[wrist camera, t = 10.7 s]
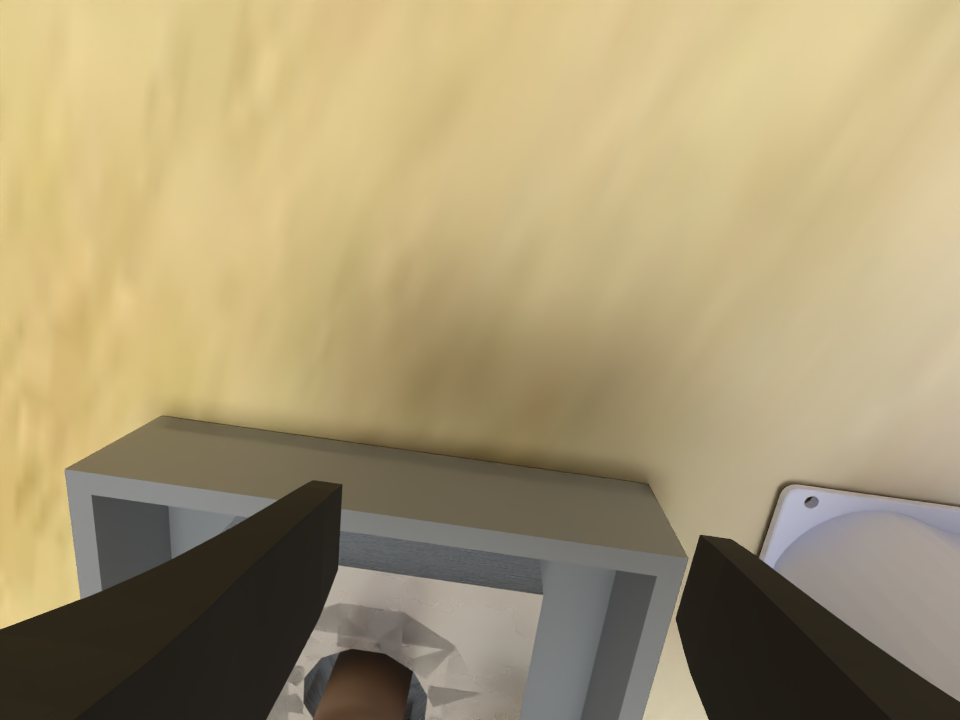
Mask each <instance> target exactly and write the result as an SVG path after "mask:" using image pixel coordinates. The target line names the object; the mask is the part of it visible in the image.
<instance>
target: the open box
mask: <svg viewBox="0 0 960 720" xmlns="http://www.w3.org/2000/svg"><path fill="white" fill-rule="evenodd" d="M65 477H66V485H67V493H68V501H69V509H70V517H71V525H72V533H73V541H74V549H75V557H76V565H77V573H78V581H79V589H80V597H81V599H83V598H86V597H88V596H91V595H93V594H96V593H98V592H100V591H103V590H105V589H107V588H110V587H112V586H114V585H117V584H119V583H121V582H123V581H126V580H128V579H130V578H133V577H135V576H137V575H139V574H142V573H144V572H146V571H148V570H150V569H152V568H154V567H157V566H159V565H161V564H163V563H165V562H167V561H169V560H171V559H173V558H175V557H177V556H179V555H181V554H183V553H185V552H186V551H188V550H190V549H192V548H194V547H196V546H198V545H200V544H202V543H203V542H205V541H207V540H209V539H211V538H213V537H215V536H217V535H219V534H220V533H221V532H222V531H223V530H224V529H225V528H226V527H227V526H228V525H229V524H230V523H231V522H232V520H233V519H234V518H235V517H236V516H243V517H250V516H252V515H254V514H255V513H257V512H259V511H261V510H262V509H264V508H266V507H267V506H269V505H271V504H272V503H274V502H276V501H277V500H279V499H281V498H282V497H284V496H286V495H287V494H289V493H291V492H292V491H294V490H296V489H298V488H299V487H301V486H303V485H304V484H306V483H308V482H310V481H312V480H317V481H324V482H331V483H338V484H343V486H342V505H341V525H340V531H347V532H354V533H361V534H368V535H375V536H382V537H389V538H396V539H403V540H410V541H417V542H423V543H430V544H437V545H444V546H451V547H458V548H465V549H472V550H479V551H486V552H493V553H500V554H507V555H514V556H521V557H528V558H535V559H540V563H541V574H542V585H543V600H542V606H541V611H540V616H539V621H538V626H537V631H536V636H535V641H534V647H533V652H532V657H531V662H530V667H529V672H528V677H527V683H526V688H525V693H524V698H523V703H522V708H521V713H520V718H519V720H642V718H643V715H644V711H645V708H646V704H647V701H648V697H649V694H650V690H651V687H652V683H653V680H654V676H655V673H656V669H657V666H658V663H659V659H660V656H661V652H662V649H663V645H664V642H665V638H666V635H667V631H668V628H669V624H670V621H671V617H672V614H673V610H674V607H675V603H676V600H677V596H678V593H679V590H680V586H681V583H682V579H683V576H684V572H685V569H686V565H687V562H688V557H687V555H686V553H685V551H684V549H683V547H682V546H681V544H680V542H679V540H678V538H677V536H676V534H675V533H674V531H673V529H672V527H671V525H670V523H669V521H668V520H667V518H666V516H665V514H664V512H663V510H662V508H661V507H660V505H659V503H658V501H657V499H656V497H655V495H654V494H653V492H652V490H651V488H650V486H649V484H644V483H637V482H630V481H623V480H616V479H609V478H601V477H594V476H587V475H580V474H573V473H566V472H559V471H551V470H544V469H537V468H530V467H523V466H516V465H508V464H501V463H494V462H487V461H480V460H473V459H466V458H458V457H451V456H444V455H437V454H430V453H423V452H416V451H408V450H401V449H394V448H387V447H380V446H373V445H366V444H358V443H351V442H344V441H337V440H330V439H323V438H316V437H308V436H301V435H294V434H287V433H280V432H273V431H266V430H258V429H251V428H244V427H237V426H230V425H223V424H216V423H208V422H201V421H194V420H187V419H180V418H173V417H166V416H160V417H158V418H156V419H155V420H153V421H151V422H149V423H147V424H146V425H144V426H142V427H140V428H138V429H137V430H135V431H133V432H131V433H129V434H128V435H126V436H124V437H122V438H120V439H119V440H117V441H115V442H113V443H111V444H109V445H108V446H106V447H104V448H102V449H100V450H99V451H97V452H95V453H93V454H91V455H90V456H88V457H86V458H84V459H82V460H81V461H79V462H77V463H75V464H73V465H71V466H70V467H68V468H66V469H65ZM338 654H339V653H335V654H332V655H330V656H331V658H332V660H333V661H334V663H335V662H336V659H337V657H338ZM418 682H419V680H418V679H417V677H416V675H415V673H414V671H413V675H412V680H411V685H412V684H415V683H418Z"/></svg>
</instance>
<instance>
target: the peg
mask: <svg viewBox="0 0 960 720" xmlns="http://www.w3.org/2000/svg"><path fill="white" fill-rule="evenodd" d="M412 675H413V671H412V670H410V669H409V668H407V667H406V666H404V665H403V664H401V663H399V662H398V661H396V660H395V659H393V658H392V657H390V656H388V655H387V654H385V653H378V652H371V651H364V650H358V649H349V650H345V651H342V652H339V654H338V657H337V659H336V662H335V665H334V667H333V670H332V672H331V675H330V677H329V680H328V682H327V685H326V687H325V690H324V692H323V695H322V698H321V700H320V703H319V705H318V708H317V710H316V713H315V715H314V718H313V720H403V718H404V713H405V708H406V704H407V699H408V694H409V689H410V685H411V680H412Z"/></svg>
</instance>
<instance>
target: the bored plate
mask: <svg viewBox="0 0 960 720" xmlns="http://www.w3.org/2000/svg"><path fill="white" fill-rule="evenodd" d="M247 518H249V517H243V516H236V517H235V518H234V519H233V520H232V522H231V523H230V524H229V525H228V526H227V527H226V528H225V529H224V530H223V531H222V532H224V531H226V530H228V529H230V528H231V527H233V526H235V525H237V524H238V523H240V522H242V521H244V520H245V519H247ZM222 532H221V533H222ZM542 600H543V585H542V574H541V563H540V559H535V558H528V557H521V556H514V555H507V554H500V553H493V552H486V551H479V550H472V549H465V548H458V547H451V546H444V545H437V544H430V543H423V542H417V541H410V540H403V539H396V538H389V537H382V536H375V535H368V534H361V533H354V532H347V531H340V544H339V563H338V571H337V574H336V577H335V579H334V582H333V585H332V587H331V590H330V593H329V595H328V598H327V600H326V603H325V605H324V608H323V611H322V613H321V616H320V618H319V620H318V622H317V624H316V626H315V628H314V630H313V632H312V634H311V636H310V638H309V639H308V641H307V643H306V645H305V647H304V649H303V651H302V653H301V655H300V657H299V659H298V661H297V663H296V664H295V666H294V668H293V670H292V672H291V674H290V676H289V678H288V680H287V681H286V683H285V685H284V687H283V689H282V691H281V693H280V695H279V697H278V699H277V700H276V702H275V704H274V706H273V708H272V710H271V712H270V714H269V716H268V718H267V719H266V720H313V718H314V715H315V713H316V710H317V708H318V705H319V703H320V700H321V698H322V695H323V692H324V690H325V687H326V685H327V682H328V680H329V677H330V675H331V672H332V670H333V667H334V665H335V663H334V661H333V660H332V658H331V656H330V655H332V654H335V653H339V652H342V651H345V650H349V649H358V650H364V651H371V652H378V653H385V654H387V655H388V656H390V657H392V658H393V659H395V660H396V661H398V662H399V663H401V664H403V665H404V666H406V667H407V668H409V669H410V670H412V671H414V673H415V675H416V677H417V679H418V680H419V682H418V683H415V684H412V685H410V689H409V694H408V699H407V704H406V708H405V713H404V718H403V720H519V718H520V713H521V708H522V703H523V698H524V693H525V688H526V683H527V677H528V672H529V667H530V662H531V657H532V652H533V647H534V641H535V636H536V631H537V626H538V621H539V616H540V611H541V606H542Z"/></svg>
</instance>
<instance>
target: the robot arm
mask: <svg viewBox="0 0 960 720" xmlns="http://www.w3.org/2000/svg"><path fill="white" fill-rule="evenodd" d="M342 486H343V484H338V483H331V482H324V481H317V480H312V481H310V482H308V483H306V484H304V485H303V486H301V487H299V488H298V489H296V490H294V491H292V492H291V493H289V494H287V495H286V496H284V497H282V498H281V499H279V500H277V501H276V502H274V503H272V504H271V505H269V506H267V507H266V508H264V509H262V510H261V511H259V512H257V513H255V514H254V515H252V516H250V517H249V518H247V519H245V520H244V521H242V522H240V523H238V524H237V525H235V526H233V527H231V528H230V529H228V530H226V531H224V532H222V533H220V534H219V535H217V536H215V537H213V538H211V539H209V540H207V541H205V542H203V543H202V544H200V545H198V546H196V547H194V548H192V549H190V550H188V551H186V552H185V553H183V554H181V555H179V556H177V557H175V558H173V559H171V560H169V561H167V562H165V563H163V564H161V565H159V566H157V567H154V568H152V569H150V570H148V571H146V572H144V573H142V574H139V575H137V576H135V577H133V578H130V579H128V580H126V581H123V582H121V583H119V584H117V585H114V586H112V587H110V588H107V589H105V590H103V591H100V592H98V593H96V594H93V595H91V596H88V597H86V598H83V599H81V600H78V601H75V602H73V603H70V604H67V605H65V606H62V607H59V608H57V609H54V610H51V611H49V612H46V613H43V614H41V615H38V616H35V617H33V618H30V619H27V620H25V621H22V622H19V623H17V624H14V625H11V626H9V627H6V628H3V629H0V720H266V719H267V718H268V716H269V714H270V712H271V710H272V708H273V706H274V704H275V702H276V700H277V699H278V697H279V695H280V693H281V691H282V689H283V687H284V685H285V683H286V681H287V680H288V678H289V676H290V674H291V672H292V670H293V668H294V666H295V664H296V663H297V661H298V659H299V657H300V655H301V653H302V651H303V649H304V647H305V645H306V643H307V641H308V639H309V638H310V636H311V634H312V632H313V630H314V628H315V626H316V624H317V622H318V620H319V618H320V616H321V613H322V611H323V608H324V605H325V603H326V600H327V598H328V595H329V593H330V590H331V587H332V585H333V582H334V579H335V577H336V574H337V571H338V563H339V544H340V525H341V505H342ZM811 496H812V499H811V500H810V501H809V502H807V503H804V501H805V500H806V498H808V497H811ZM676 622H677V626H678V630H679V634H680V637H681V641H682V645H683V649H684V653H685V656H686V660H687V663H688V667H689V670H690V673H691V676H692V679H693V681H694V684H695V686H696V689H697V691H698V694H699V696H700V699H701V701H702V704H703V706H704V709H705V711H706V714H707V716H708V719H709V720H960V507H956V506H949V505H941V504H934V503H927V502H920V501H913V500H905V499H898V498H891V497H884V496H877V495H869V494H862V493H855V492H848V491H841V490H834V489H826V488H819V487H812V486H805V485H798V484H795V485H790V486H787V487H786V488H784V489H783V490H782V492H781V494H780V497H779V500H778V503H777V506H776V509H775V512H774V515H773V518H772V521H771V524H770V527H769V530H768V533H767V536H766V539H765V541H764V544H763V547H762V550H761V553H760V556H759V558H758V557H757V556H755V555H754V554H752V553H751V552H750V551H748V550H747V549H745V548H744V547H742V546H741V545H739V544H738V543H736V542H735V541H733V540H731V539H726V538H719V537H712V536H705V535H700V537H699V540H698V544H697V547H696V550H695V554H694V557H693V561H692V564H691V568H690V571H689V575H688V578H687V581H686V585H685V588H684V592H683V595H682V599H681V602H680V606H679V609H678V612H677V616H676Z"/></svg>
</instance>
